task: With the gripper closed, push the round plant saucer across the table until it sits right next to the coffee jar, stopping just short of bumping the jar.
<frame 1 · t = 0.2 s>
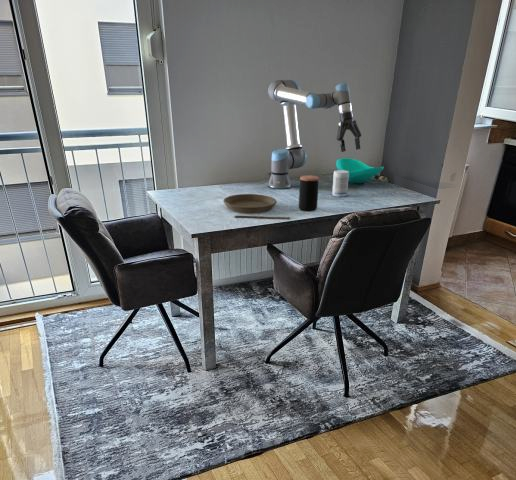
hand: (351, 150, 283), 28 cm above the table, tool tilted 20°, fingers open, 13 cm apart
coffee jar: (307, 209, 273), on the table
table top decor: (357, 182, 334), on the table
plant saucer: (250, 208, 276), on the table
walnut ruler: (262, 217, 258), on the table
supplement tub: (339, 195, 302), on the table
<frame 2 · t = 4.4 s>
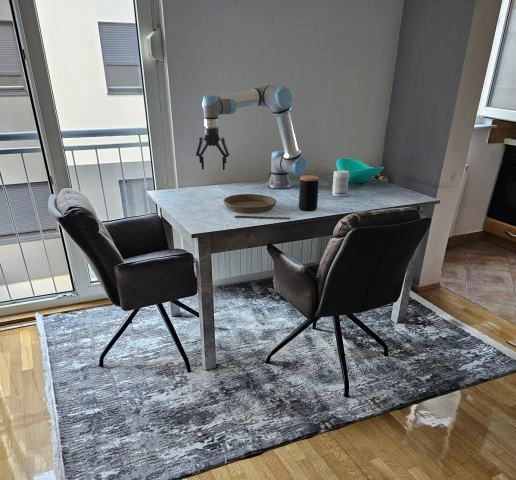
hand: (213, 169, 267), 21 cm above the table, tool pointing down, fingers open, 11 cm apart
nothing on the table moved.
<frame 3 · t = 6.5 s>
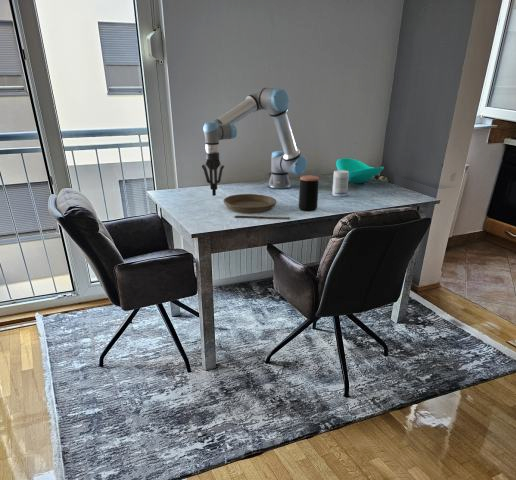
hand: (214, 195, 274), 7 cm above the table, tool pointing down, fingers closed
nothing on the table moved.
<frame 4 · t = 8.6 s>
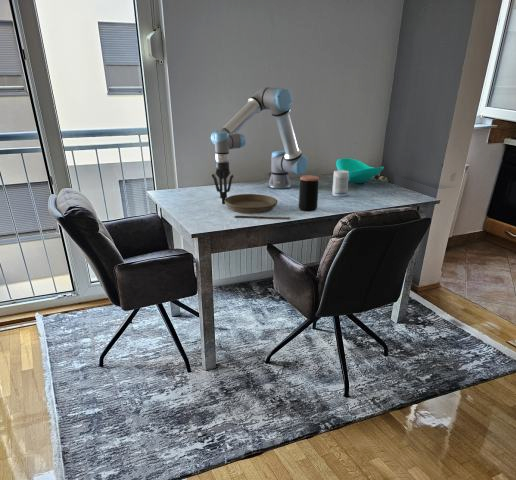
hand: (223, 203, 276), 2 cm above the table, tool pointing down, fingers closed
plant saucer: (251, 208, 276), on the table, touching gripper
everything else where it was.
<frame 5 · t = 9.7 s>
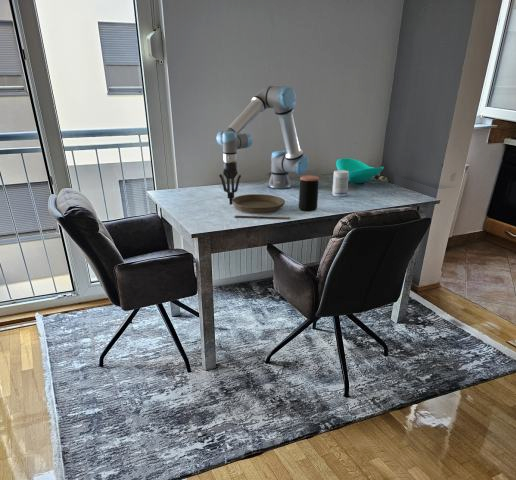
hand: (231, 203, 276), 2 cm above the table, tool pointing down, fingers closed
plant saucer: (258, 208, 276), on the table, touching gripper
everything else where it was.
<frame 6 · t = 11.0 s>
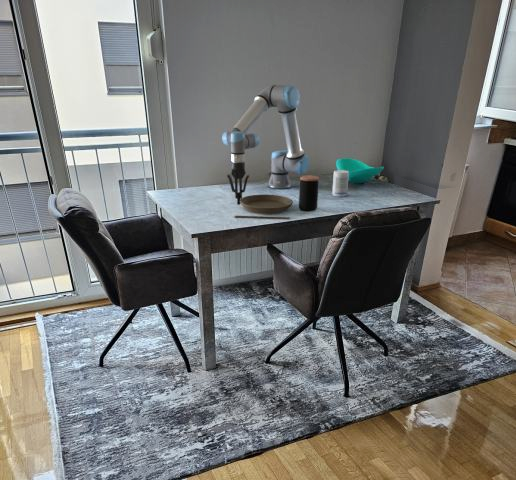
hand: (238, 204, 276), 2 cm above the table, tool pointing down, fingers closed
plant saucer: (266, 208, 275), on the table, touching gripper
everything else where it was.
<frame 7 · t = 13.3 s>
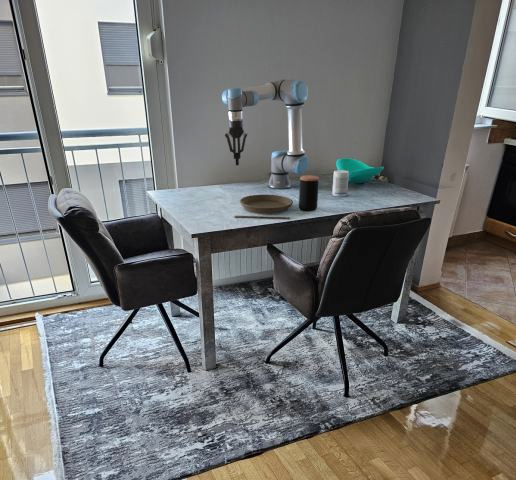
hand: (237, 164, 270), 23 cm above the table, tool pointing down, fingers closed
plant saucer: (266, 208, 275), on the table
everything else where it was.
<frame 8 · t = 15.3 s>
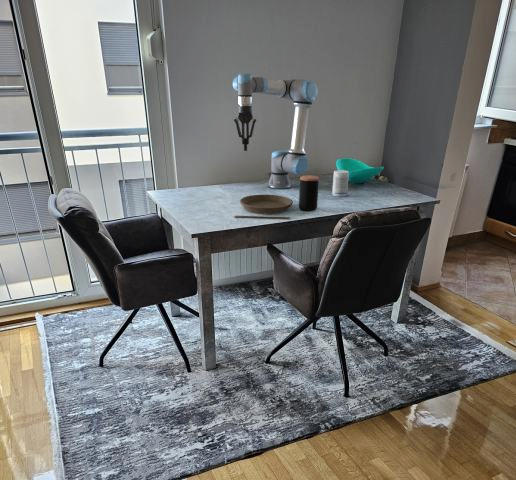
hand: (245, 150, 273), 29 cm above the table, tool pointing down, fingers closed
nothing on the table moved.
at the end: plant saucer 24.3 cm from the coffee jar (horizontally); plant saucer moved 9.7 cm from its start; coffee jar moved 0.2 cm from its start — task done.
